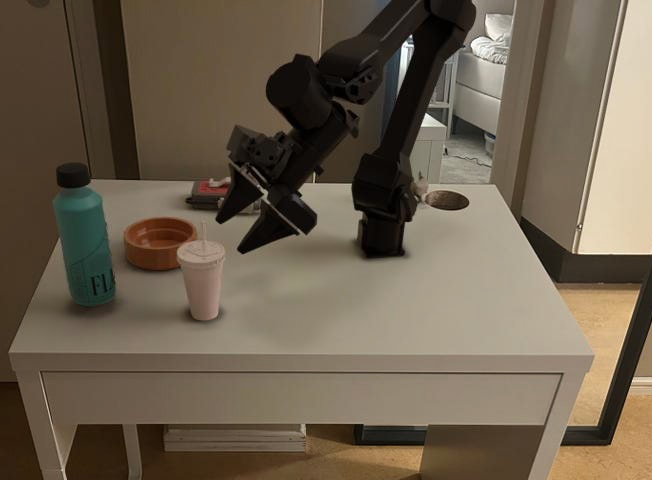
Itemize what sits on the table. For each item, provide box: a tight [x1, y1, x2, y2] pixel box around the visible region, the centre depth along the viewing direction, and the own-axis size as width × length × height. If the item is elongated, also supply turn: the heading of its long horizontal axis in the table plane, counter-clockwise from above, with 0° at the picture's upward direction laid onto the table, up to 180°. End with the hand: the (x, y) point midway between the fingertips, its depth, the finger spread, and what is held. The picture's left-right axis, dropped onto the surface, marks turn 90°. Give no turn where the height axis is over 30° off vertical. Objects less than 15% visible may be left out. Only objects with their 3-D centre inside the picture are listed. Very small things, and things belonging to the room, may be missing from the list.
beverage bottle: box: [52, 161, 117, 307], centre depth 93 cm, size 6×7×20 cm
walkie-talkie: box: [184, 176, 272, 214], centre depth 125 cm, size 9×4×20 cm
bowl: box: [123, 216, 199, 271], centre depth 109 cm, size 11×11×4 cm
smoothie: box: [177, 219, 226, 321], centre depth 93 cm, size 6×6×14 cm
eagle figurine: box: [410, 170, 430, 203], centre depth 126 cm, size 8×7×9 cm
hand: (228, 236), depth 91 cm, fingers open, 9 cm apart
